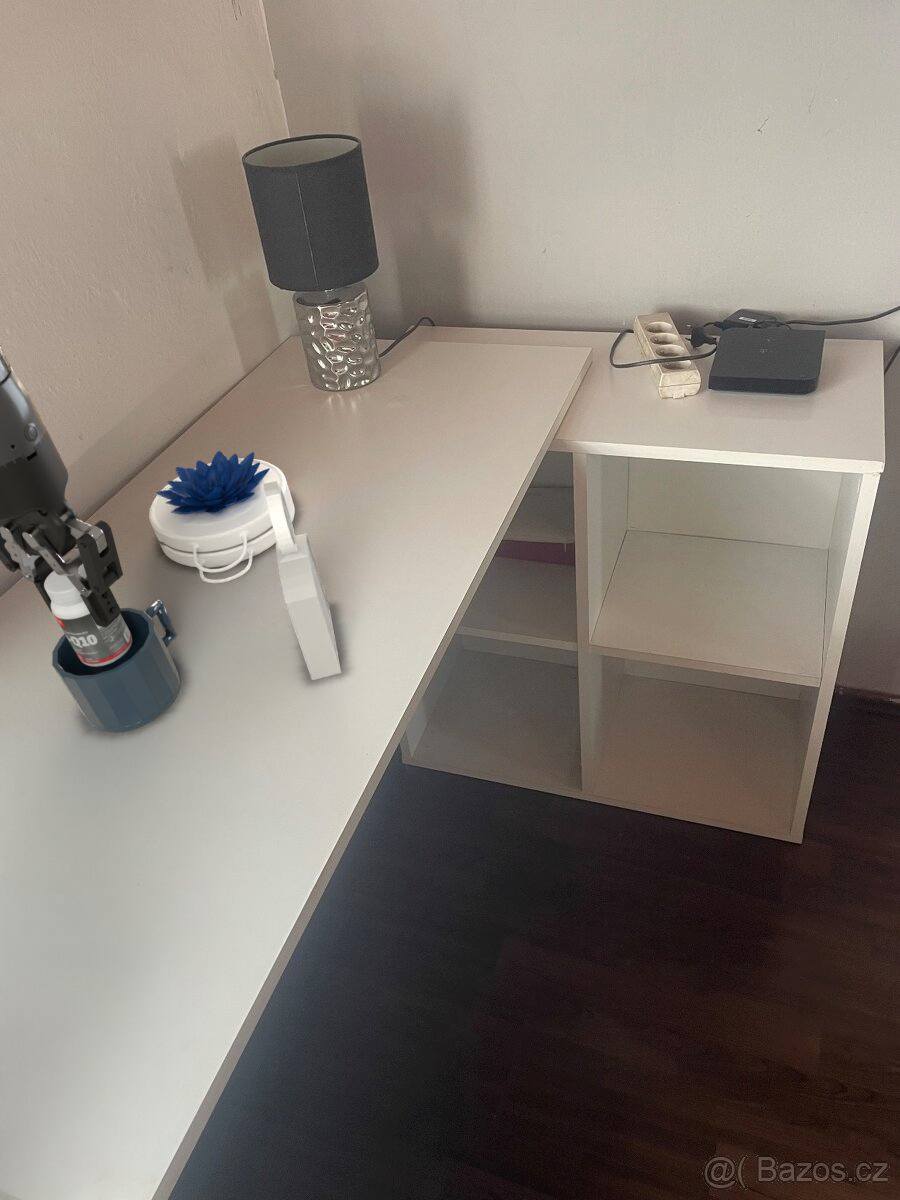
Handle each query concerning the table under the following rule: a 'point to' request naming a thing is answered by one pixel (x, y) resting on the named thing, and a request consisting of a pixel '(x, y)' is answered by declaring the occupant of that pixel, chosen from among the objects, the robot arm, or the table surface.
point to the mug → (124, 675)
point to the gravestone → (302, 589)
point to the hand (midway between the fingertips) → (86, 613)
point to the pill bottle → (85, 624)
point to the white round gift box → (217, 513)
